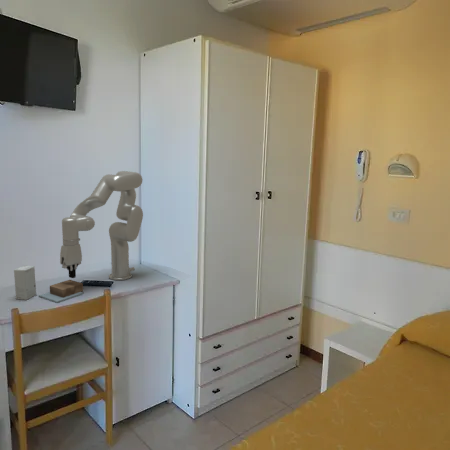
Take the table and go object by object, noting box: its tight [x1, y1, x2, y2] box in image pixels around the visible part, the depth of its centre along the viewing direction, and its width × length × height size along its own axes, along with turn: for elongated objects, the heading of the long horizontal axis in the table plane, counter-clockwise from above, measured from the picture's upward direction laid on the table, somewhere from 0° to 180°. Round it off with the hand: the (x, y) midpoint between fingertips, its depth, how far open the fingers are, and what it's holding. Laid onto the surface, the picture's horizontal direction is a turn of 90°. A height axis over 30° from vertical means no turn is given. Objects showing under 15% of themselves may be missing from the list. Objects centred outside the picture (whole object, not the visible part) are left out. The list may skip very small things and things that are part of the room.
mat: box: [38, 291, 84, 304], centre depth 210 cm, size 15×14×1 cm
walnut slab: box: [49, 279, 84, 298], centre depth 212 cm, size 4×10×12 cm
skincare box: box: [13, 265, 37, 301], centre depth 206 cm, size 8×6×15 cm
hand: (72, 277), depth 214 cm, fingers closed
